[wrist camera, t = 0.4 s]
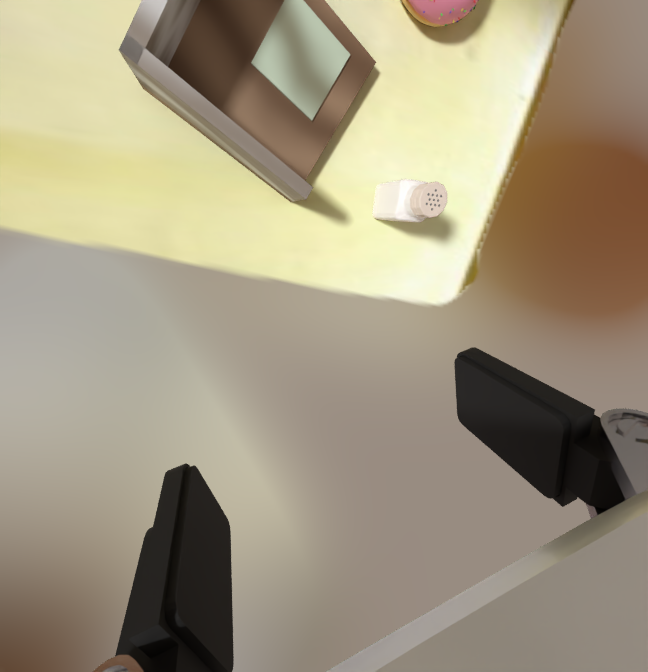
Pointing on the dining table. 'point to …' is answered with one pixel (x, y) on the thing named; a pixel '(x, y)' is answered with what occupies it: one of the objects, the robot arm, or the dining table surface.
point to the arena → (252, 77)
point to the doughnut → (439, 10)
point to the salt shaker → (409, 200)
